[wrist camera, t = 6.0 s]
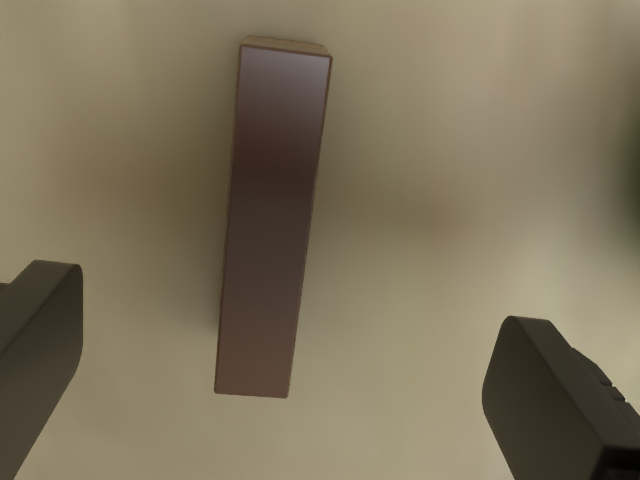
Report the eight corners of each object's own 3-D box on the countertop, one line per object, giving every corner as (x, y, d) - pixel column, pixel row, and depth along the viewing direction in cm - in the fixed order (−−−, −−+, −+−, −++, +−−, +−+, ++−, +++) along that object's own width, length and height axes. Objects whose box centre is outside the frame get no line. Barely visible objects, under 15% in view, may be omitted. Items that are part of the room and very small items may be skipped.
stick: (287, 339, 18) (287, 400, 16) (224, 334, 18) (213, 394, 15) (324, 45, 15) (333, 55, 12) (247, 35, 15) (239, 43, 12)
